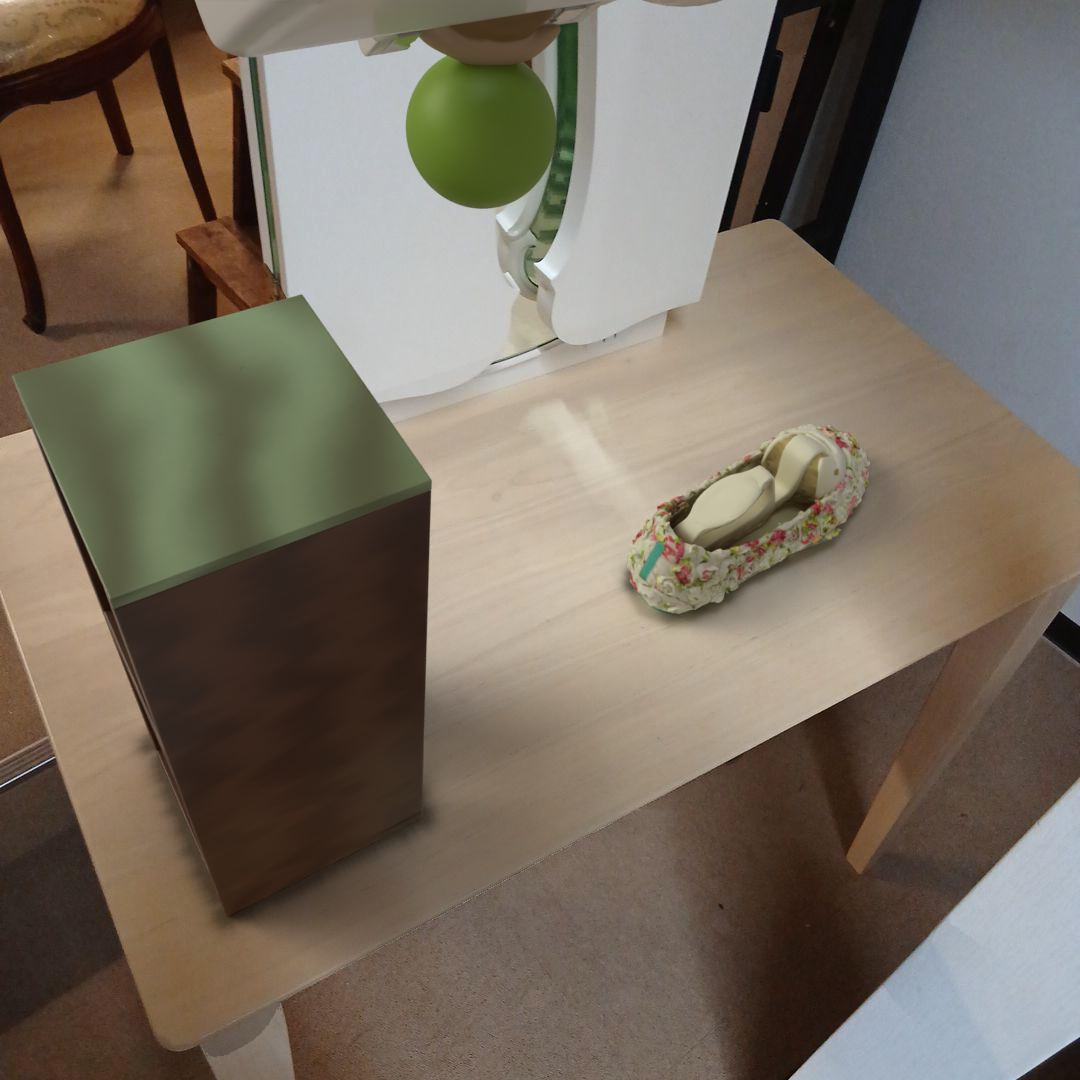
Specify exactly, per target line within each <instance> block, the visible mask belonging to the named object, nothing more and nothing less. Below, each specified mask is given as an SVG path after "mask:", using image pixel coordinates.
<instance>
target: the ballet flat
mask: <svg viewBox="0 0 1080 1080" xmlns="http://www.w3.org/2000/svg"><path fill="white" fill-rule="evenodd" d="M806 423H807V422H804V423H803V424H802V425H798V426H797V427H792V428H786V429H785V430H782V431H780V432H779V433H778V434H777V435H776V436H774V437H770V439H767V440H766V441H764V442H762V443H760V445H759V446H758V448H756V449H754V450H752V451H750V452H748V453H747V454H745V455H742V456H741V459H738V460H737V461H736V462H734V463H732V464H729V465H728V467H726V469H725V470H724V471H723V472H721V471H718V472H717V475H715V476H712V475H710V478H709V479H707V478H705V479H704V480H703V481H702V482H701V483H700V484H699V485H698V487H696V488H690V489H689V490H688V491H686V492H685V493H684V494H682V495H678V496H674V498H671V499H670V500H669V501H664V502H663V503H661V504H660V505H657V506H656V509H657V510H656V512H655V513H654V514H653V515H652V517H651V518H649V519H648V518H647V519H646V520H645V525H643V528H642V529H640V530H639V531H637V534H636V535H635V539H632V540H631V542H632V548H631V550H630V551H629V553H628V554H627V562H626V564H625V567H626V568H627V570H629V572H630V576H629V577H630V579H629V583H630V584H631V586H632V587H633V588H634V589H635V591H636V592H637V594H638V595H639V596H641V597H642V599H643V600H644V601H645V602H646V603H647V604H648V606H649V607H651V608H653V609H656V610H657V611H661V612H664V613H665V612H666V613H669V614H670V613H671V614H677V615H681V614H682V613H687V612H689V611H692V610H695V611H696V610H697V609H699V608H701V607H702V606H705V605H707V604H709V603H716V604H719V603H722V602H723V601H724V597H725V594H729V591H730V592H733V591H736V590H737V589H738V588H739V587H740V586H739V585H740V584H742V583H744V582H745V581H747V580H749V579H750V578H752V577H754V576H756V575H757V574H758V573H761V572H763V571H766V570H768V569H770V568H772V567H773V566H775V565H777V564H778V563H781V562H783V561H784V560H785V559H786V558H787V557H789V556H791V555H793V554H796V553H799V552H801V551H804V550H807V549H809V548H812V547H815V546H818V545H820V544H823V543H825V542H828V541H832V540H833V539H834V538H837V537H838V536H839V534H840V532H842V529H841V528H840V527H838V526H840V525H842V524H845V523H846V522H847V520H848V517H849V516H851V515H852V514H853V513H854V512H853V511H854V509H855V508H857V507H858V506H859V504H860V503H861V502H862V497H863V496H864V494H865V492H866V488H867V487H869V485H870V481H869V478H870V472H869V470H870V468H871V467H870V466H871V462H870V461H869V458H868V455H867V453H866V451H865V450H864V449H863V448H862V447H860V444H859V443H858V441H857V437H856V436H855V435H852V434H851V433H850V432H847V431H839V430H838V429H836V428H834V426H832V425H831V424H828V425H825V424H823V425H818V426H816V425H814V424H812V423H808V424H806Z"/></svg>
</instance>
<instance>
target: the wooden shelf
mask: <svg viewBox="0 0 1080 1080" xmlns="http://www.w3.org/2000/svg"><path fill="white" fill-rule="evenodd" d="M309 303H310V302H308V301H307V299H306V298H305V296H304V294H297V295H293V296H290V297H287V298H283V299H280V300H276V301H272V302H268V303H266V304H262V305H258V306H254V307H251V308H248V309H243V310H240V311H237V312H233V313H229V314H226V315H222V316H219V317H216V318H211V319H209V320H208V319H207V320H204V321H200V322H197V323H194V324H190V325H186V326H183V327H179V328H175V329H172V330H168V331H165V332H162V333H158V334H154V335H151V336H147V337H143V338H140V339H136V340H132V341H129V342H125V343H122V344H118V345H115V346H112V347H111V346H110V347H108V348H105V349H101V350H97V351H93V352H90V353H87V354H86V353H85V354H83V355H80V356H75V357H72V358H68V359H65V360H61V361H57V362H54V363H50V364H47V365H43V366H40V367H36V368H32V369H29V370H26V371H22V372H17V373H14V374H12V375H11V378H12V380H13V383H14V385H15V388H16V392H17V393H18V396H19V399H20V401H21V404H22V407H23V410H24V413H25V415H26V418H27V419H28V422H29V424H30V427H31V429H32V433H33V435H34V437H35V440H36V443H37V446H38V448H39V451H40V454H41V456H42V458H43V461H44V465H45V467H46V469H47V471H48V475H49V478H50V479H51V482H52V485H53V488H54V490H55V493H56V495H57V497H58V500H59V503H60V505H61V508H62V511H63V513H64V516H65V519H66V521H67V524H68V526H69V529H70V532H71V534H72V537H73V539H74V543H75V544H76V547H77V550H78V553H79V555H80V557H81V561H82V564H83V565H84V568H85V570H86V573H87V576H88V578H89V581H90V584H91V586H92V589H93V592H94V594H95V597H96V600H97V602H98V604H99V607H100V609H101V613H102V615H103V617H104V620H105V623H106V626H107V628H108V631H109V633H110V636H111V638H112V641H113V643H114V646H115V650H116V652H117V654H118V656H119V659H120V662H121V664H122V667H123V669H124V672H125V675H126V677H127V680H128V682H129V685H130V688H131V691H132V693H133V696H134V699H135V702H136V703H137V707H138V709H139V712H140V714H141V717H142V719H143V722H144V724H145V727H146V729H147V733H148V735H149V737H150V740H151V743H152V745H153V747H154V750H155V752H156V755H157V757H158V759H159V762H160V765H161V766H162V769H163V772H164V774H165V776H166V778H167V781H168V783H169V785H170V787H171V790H172V792H173V795H174V797H175V799H176V801H177V804H178V806H179V809H180V811H181V814H182V816H183V818H184V820H185V822H186V825H187V827H188V830H189V832H190V835H191V836H192V839H193V841H194V844H195V846H196V849H197V852H198V853H199V856H200V858H201V860H202V863H203V865H204V868H205V870H206V872H207V874H208V876H209V879H210V882H211V884H212V887H213V889H214V891H215V894H216V896H217V898H218V900H219V903H220V905H221V906H222V910H223V912H224V914H225V916H226V917H230V916H232V915H234V914H236V913H238V912H240V911H242V910H244V909H245V908H248V907H250V906H252V905H254V904H255V903H258V902H259V901H261V900H264V899H266V898H268V897H269V896H271V895H274V894H275V893H277V892H279V891H281V890H283V889H285V888H287V887H289V886H291V885H293V884H296V883H297V882H299V881H300V880H302V879H303V880H304V879H305V878H307V877H309V876H311V875H312V874H314V873H316V872H319V871H320V870H322V869H325V868H327V867H328V866H330V865H333V864H334V863H337V862H338V861H340V860H342V859H344V858H346V857H348V856H350V855H353V854H354V853H357V852H358V851H360V850H362V849H364V848H366V847H368V846H369V845H372V844H374V843H375V842H377V841H379V840H381V839H384V838H385V837H387V836H390V835H391V834H394V833H395V832H398V831H399V830H401V829H403V828H405V827H407V826H409V825H411V824H413V823H415V822H417V821H419V820H421V819H422V818H423V791H424V788H423V787H424V757H425V756H424V753H425V721H426V720H425V719H426V688H427V687H426V686H427V685H426V684H427V649H428V615H429V581H430V574H429V573H430V550H431V549H430V545H431V514H432V513H431V512H432V511H431V509H432V489H433V486H432V485H433V480H432V478H431V476H430V475H429V474H428V473H427V471H426V470H425V468H424V466H423V465H422V464H421V462H420V461H419V460H418V458H417V457H416V455H415V453H414V452H413V451H412V449H411V448H410V447H409V445H408V443H406V441H405V440H404V438H403V437H402V435H401V434H400V432H399V431H398V429H397V428H396V426H395V424H393V422H392V421H391V420H390V418H389V417H388V415H387V413H386V412H385V411H384V409H383V408H382V406H381V405H380V403H379V402H378V400H377V399H376V397H375V396H374V395H373V394H372V392H371V391H370V389H369V387H368V386H367V385H366V383H365V382H364V381H363V379H362V378H361V376H360V375H359V373H358V372H357V371H356V369H355V368H354V367H353V364H352V363H351V362H350V361H349V359H348V358H347V357H346V354H344V352H343V350H342V349H341V347H340V346H339V345H338V344H337V342H336V340H335V339H334V338H333V336H332V335H331V334H330V332H329V331H328V329H327V328H326V326H325V325H324V323H323V322H322V320H321V319H320V317H319V316H318V314H317V313H316V312H315V311H314V309H313V308H312V306H311V305H310V304H309Z"/></svg>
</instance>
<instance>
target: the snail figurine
mask: <svg viewBox="0 0 1080 1080" xmlns="http://www.w3.org/2000/svg"><path fill="white" fill-rule="evenodd" d="M555 11H556V9H551V10H545V11H539V12H532V13H526V14H520V15H514V16H507V17H501V18H495V19H488V20H482V21H476V22H469V23H463V24H457V25H450V26H444V27H438V28H431V29H425V30H420V31H421V35H420V36H419V37H418V38H419V39H420V40H421V41H422V42H423V43H425V44H426V45H427V46H429V47H430V48H431V49H433V50H435V51H437V52H439V53H440V54H443V55H445V56H443V57H442V58H440V59H439V60H437V61H436V62H435V63H433V65H431V66H430V67H429V68H428V69H427V70H426V71H425V72H424V73H423V75H422V76H421V78H420V79H419V80H418V82H417V84H415V85H416V86H415V87H414V89H413V91H412V94H411V96H410V98H409V101H408V105H407V110H406V116H405V138H406V144H407V148H408V152H409V155H410V157H411V160H412V163H413V165H414V166H415V168H416V170H417V172H418V173H419V175H420V176H421V178H422V179H423V180H424V181H425V183H426V185H428V186H429V187H430V188H431V189H432V190H433V191H434V192H435V193H437V195H440V196H441V197H443V198H444V199H446V200H447V201H449V202H451V203H453V204H455V205H459V206H460V207H465V208H470V209H475V210H476V209H477V210H488V209H489V210H490V209H496V208H500V207H504V206H507V205H509V204H511V203H514V202H515V201H517V200H519V199H521V198H522V197H524V196H525V195H527V194H528V193H529V192H530V191H532V189H533V188H534V187H536V185H537V184H538V183H539V182H540V181H541V180H542V178H543V177H544V175H545V173H546V171H547V170H548V168H549V166H550V164H551V161H552V159H553V156H554V152H555V148H556V143H557V132H558V131H557V128H558V127H557V118H556V111H555V107H554V104H553V102H552V101H553V100H552V97H551V96H550V94H549V91H548V89H547V88H546V86H545V84H544V83H543V81H542V80H541V78H540V77H539V76H538V74H537V73H536V72H535V71H534V70H533V69H532V68H531V67H530V66H529V65H528V64H526V63H525V62H527V61H530V60H532V59H534V58H535V57H537V56H538V55H540V54H541V53H542V52H543V51H544V50H546V49H547V48H548V47H549V46H550V45H551V44H552V43H553V42H554V41H555V40H556V39H557V38H558V36H559V35H560V33H561V25H558V24H555V23H545V22H546V21H547V20H548V19H549V18H550V17H551V16H552V15H553V13H554V12H555ZM544 23H545V24H544Z"/></svg>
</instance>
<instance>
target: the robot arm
mask: <svg viewBox="0 0 1080 1080" xmlns="http://www.w3.org/2000/svg"><path fill="white" fill-rule="evenodd" d="M615 1H617V0H194V2H195V5H196V8H197V10H198V14H199V16H200V18H201V21H202V24H203V27H204V29H205V31H206V33H207V35H208V37H209V40H210V41H211V42H212V44H213V45H214V46H215V48H217V49H218V50H220V51H221V52H223V53H226V54H229V55H232V56H235V57H238V58H239V57H240V58H257V57H263V56H268V55H275V54H278V53H284V52H292V51H297V50H304V49H311V48H316V47H324V46H330V45H335V44H336V45H337V44H341V43H348V42H355V41H357V43H358V47H359V49H360V51H361V53H362V55H363V56H364V57H374V56H378V55H386V54H392V53H397V52H402V51H407V50H409V49H410V47H411V44H412V43H415V42H416V41H417V40H418V38H419V36H420V35H421V31H420V30H425V29H431V28H438V27H444V26H450V25H457V24H463V23H469V22H476V21H482V20H488V19H495V18H501V17H507V16H514V15H520V14H526V13H532V12H539V11H545V10H551V9H556V11H555V12H554V13H553V15H552V16H551V17H550V18H549V19H548V20H547V21H546V22H545V23H555V24H558V25H559V26H561V25H566V24H572V23H579V22H580V23H581V22H583V21H584V20H585V19H587V18H588V17H589V16H590V15H592V14H593V13H594V12H595V11H597V10H598V9H599V8H600V7H601V6H606V5H608V4H610V3H613V2H615ZM721 1H723V0H642V2H646V3H649V4H655V5H660V6H666V7H678V8H688V7H701V6H706V5H712V4H716V3H719V2H721ZM545 23H544V24H545Z"/></svg>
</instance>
